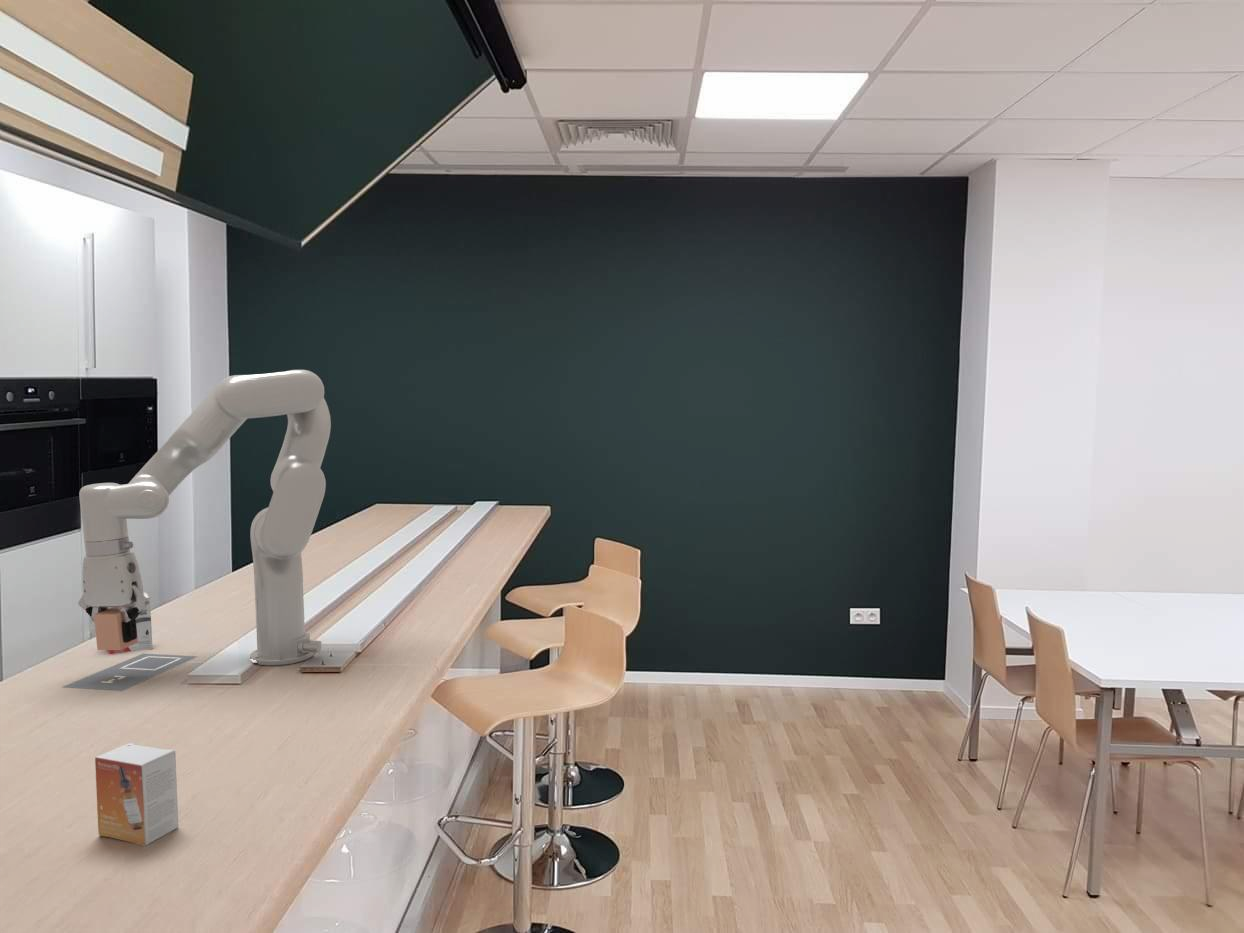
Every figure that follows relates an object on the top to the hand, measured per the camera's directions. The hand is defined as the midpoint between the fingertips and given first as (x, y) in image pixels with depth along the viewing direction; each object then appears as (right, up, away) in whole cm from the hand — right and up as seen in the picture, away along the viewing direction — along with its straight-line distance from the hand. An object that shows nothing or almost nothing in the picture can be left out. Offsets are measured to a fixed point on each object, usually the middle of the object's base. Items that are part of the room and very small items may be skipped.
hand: (117, 639), depth 191 cm
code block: (0, -1, 0) cm, 1 cm away
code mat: (0, -8, +6) cm, 9 cm away
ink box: (-9, -6, +22) cm, 25 cm away
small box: (+35, -14, -64) cm, 74 cm away
